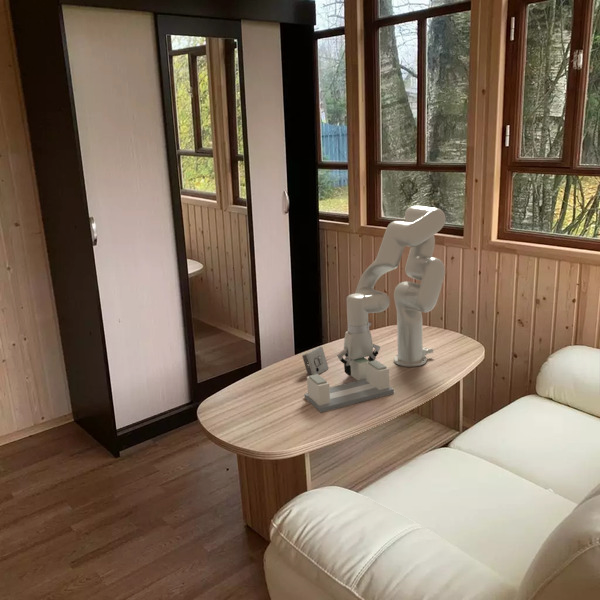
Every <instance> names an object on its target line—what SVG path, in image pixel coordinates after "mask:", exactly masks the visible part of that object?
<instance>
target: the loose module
mask: <svg viewBox="0 0 600 600" xmlns="http://www.w3.org/2000/svg"><path fill="white" fill-rule="evenodd" d="M367 362H370V361H368V358H366V357H363V358H359V359H355V360H352V361H351V362H350V364H349V365H350V366H351V375H350V377H352V378H354V379H355V381H358V380H362V379H366V363H367Z"/></svg>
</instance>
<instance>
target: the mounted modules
mask: <svg viewBox="0 0 600 600" xmlns="http://www.w3.org/2000/svg"><path fill="white" fill-rule="evenodd" d="M366 381H367V382H368V383H370V384H372V385H373V386H374V387H376V388H377V389H379V390H382V389H386V388H389V386H390V368H388V367H387V365H385V364H383V363H381V362H379V361H378V360H377V359H375V360H374V361H370V362H367V363H366ZM306 383H307V393H308V396H309V397H310V398H311V399H313V400H314V401H315V402H316V403H317V404H318V405H319V406H320V405H324V404H328V403H330V390H329V388H330V383H329V382H328V381H327V380H326V379H324V377H323V376H321V375H320V374H319V375H318V374H315V375H307V376H306Z"/></svg>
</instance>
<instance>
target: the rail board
mask: <svg viewBox="0 0 600 600" xmlns="http://www.w3.org/2000/svg"><path fill="white" fill-rule="evenodd" d="M329 390H330V403H328V404H324V405H320V406H319V405H318V404H317V403H316V402H315V401H314V400H313V399H311V398H310V397H309V396H308V392H305V393H304V395H303V396H304V399H305V400H306V401H307V402H308V403H310V404H311V405H312V406H313V407H314V408H315V409H317V410H318V412H320V413H324V412H328V411H331V410H335V409H339V408H343V407H347V406H351V405H356V404H358V403H361V402H362V403H363V402H365V401H370V400H375V399H377V398H381V397H384V396H389V395H393V394H395V389H394V388H393V387H391V386H390V385H389V388H386V389H382V390H379V389H377V388H376V387H374V386H373V385H372V384H370V383H368V382H367V381H366V379H362V380H354V381H351V382H348V383H342V384H338V385H335V386H329Z"/></svg>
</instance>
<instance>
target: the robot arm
mask: <svg viewBox="0 0 600 600" xmlns="http://www.w3.org/2000/svg"><path fill="white" fill-rule="evenodd" d="M404 219H405V221H403V220H402V221H401V220H394V221H391V222H390V223H388V225H387V227H386V228H385V232H384V234H383V237H382V242H381V243H380V247H379V249H378V252H377V256H376V257H375V260H374V261H373V262H372V263H371V264H370V265H369V266H368V267H367V268H366V269H365V270H364V272H362V274H361V275H360V277H359V281H358V283H357V286H356V289H355V292H354V293H350V294H349V295H347V296H346V316H347V317H346V318H347V319H346V321H347V331H345V334H344V342H343V350H341V351H340V352H339V353H337V355H336V357H337V358H338V359H339V361H340V362H341V363H342V364H343V366H344V367H343V368H344V373H345V374H346V375H347V376H350V377H351V366H350V365H349V364H350V362H351V361H352V360H355V359H359V358H363V357H364V358H367V357H368V358H367V360H368V361H374V360H377V359H376V358H377V356H378V355H379V351H380V350H381V346H380V345H378V344H375V343H374V342H373V337H372V333H371V330H370V327H371V326H372V322H371V321H370V322H369V314H372V313H373V314H376V313H382V312H384V311H386V310H387V309H388V308H389V307H390V303H391V300H390V297H389V296H388V294H387V293H385V292H383V291H381V290H377V289H374V287H375V286H376V283H377V282H378V280H379V279H380V277H382V276H383V275H385V274H386V273H389V272H391V271H394V270H396V269H397V268H398V267H399V265H400V263H401V260H402V256H403V253H404V251H405V248H406V247H410V249H409V252H408V256H407V258H406V259H407V260H406V264H405V268H404V272H405V274H406V276H407V277H408V278H411V279H414V280H417V281H420V283H416V282H413V281H401V282H400V283H398V284H397V285H396V286H395V288H394V291H393V299H394V305H395V309H396V328H397V330H396V332H397V334H396V335H397V337H396V339H397V354H396V355H395V356H393V361H394V364H396V365H398V366H401V367H407V368H408V367H410V368H412V367H413V368H414V367H419V366H423V365H425V364H427V362H428V361H427V357H426V355H428V354H432V353H433V352H434V349H433V347H430V348H427V347H423V315H422V313H429V312H431V311H432V310H433V309H434V308H435V306H436V305H437V303H438V300H439V297H440V293H441V290H442V286H443V283H444V279H445V275H446V268H445V267H446V266H445V265H444V262H443V261H442V260H441V259H440V258H438V257H434V256H433V255H434V250H435V246H436V238H435V234H437V233H438V232H440V231H441V230H442V229H443V227H445V223H446V221H447V220H446V215H445V212H444V211H443V210H442V209H440V208H439V207H438V208H437V207H431V206H425V205H412V206H409V207H408V208H407V209H406V211H405V213H404ZM433 354H434V353H433Z"/></svg>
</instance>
